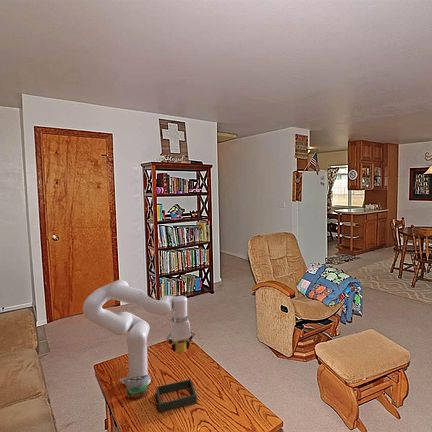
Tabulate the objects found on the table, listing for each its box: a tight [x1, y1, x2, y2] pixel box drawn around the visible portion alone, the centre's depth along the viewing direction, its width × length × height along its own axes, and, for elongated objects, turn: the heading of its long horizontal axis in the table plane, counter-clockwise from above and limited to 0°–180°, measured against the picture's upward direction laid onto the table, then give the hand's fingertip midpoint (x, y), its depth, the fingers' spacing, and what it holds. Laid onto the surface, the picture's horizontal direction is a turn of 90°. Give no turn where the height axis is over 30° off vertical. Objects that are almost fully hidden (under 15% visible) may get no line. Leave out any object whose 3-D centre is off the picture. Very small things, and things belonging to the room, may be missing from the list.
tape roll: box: [174, 339, 188, 354], centre depth 191 cm, size 7×7×5 cm
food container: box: [123, 373, 150, 400], centre depth 175 cm, size 12×6×10 cm, turn 118°
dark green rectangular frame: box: [156, 378, 197, 413], centre depth 175 cm, size 18×16×4 cm
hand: (180, 349), depth 191 cm, fingers closed on tape roll, 6 cm apart
